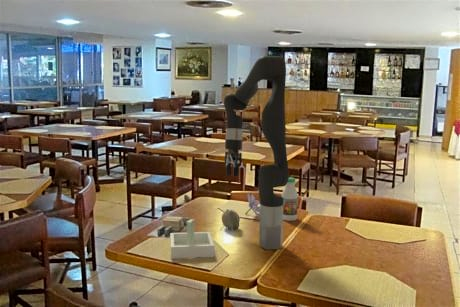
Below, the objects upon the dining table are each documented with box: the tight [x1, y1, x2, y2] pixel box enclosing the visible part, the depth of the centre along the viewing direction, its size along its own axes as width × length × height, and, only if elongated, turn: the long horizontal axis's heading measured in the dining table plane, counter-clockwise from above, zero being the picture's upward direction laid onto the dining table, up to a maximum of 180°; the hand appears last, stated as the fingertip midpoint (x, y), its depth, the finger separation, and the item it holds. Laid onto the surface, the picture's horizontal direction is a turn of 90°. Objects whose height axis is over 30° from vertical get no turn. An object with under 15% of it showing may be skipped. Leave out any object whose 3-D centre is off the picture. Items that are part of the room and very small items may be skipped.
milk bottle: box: [281, 176, 299, 222], centre depth 227 cm, size 8×8×20 cm
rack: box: [146, 215, 192, 239], centre depth 207 cm, size 20×12×4 cm, turn 163°
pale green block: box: [186, 218, 195, 245], centre depth 184 cm, size 4×2×11 cm, turn 163°
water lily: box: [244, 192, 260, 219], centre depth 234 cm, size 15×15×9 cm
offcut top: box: [162, 216, 182, 226], centre depth 209 cm, size 6×7×2 cm
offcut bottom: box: [160, 222, 184, 231], centre depth 209 cm, size 6×8×2 cm
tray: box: [169, 231, 215, 260], centre depth 185 cm, size 16×16×4 cm
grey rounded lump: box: [221, 209, 241, 231], centre depth 211 cm, size 9×8×10 cm
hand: (232, 175), depth 211 cm, fingers open, 8 cm apart
